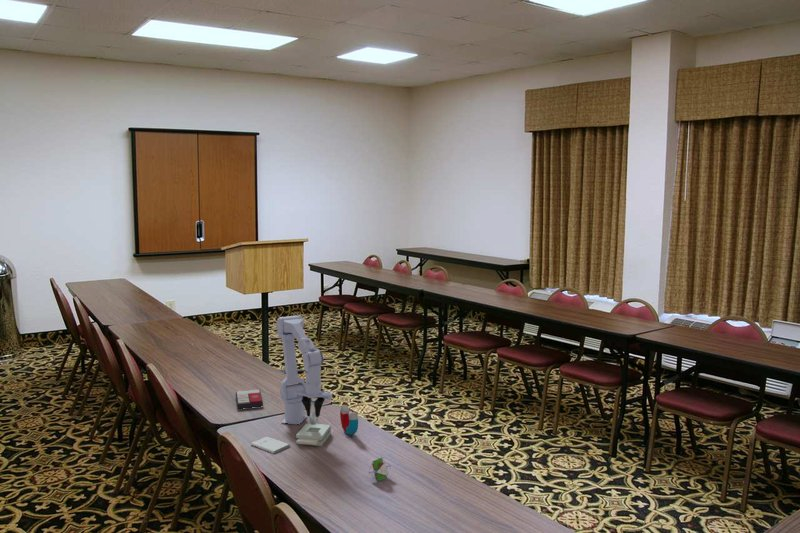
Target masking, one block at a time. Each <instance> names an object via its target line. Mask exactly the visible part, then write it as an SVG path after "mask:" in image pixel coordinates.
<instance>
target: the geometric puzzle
mask: <svg viewBox="0 0 800 533" xmlns="http://www.w3.org/2000/svg"><path fill="white" fill-rule="evenodd" d="M391 467H392V465H390V464H389V465H386V461H384V459H383V457H380V458H377V459H375V460H373V461H372V463H371V466H370V467H369V471H368V474H370V475H371V476H372V477H373V478H374V477H375V478H376V481H377V482H380V481H382V480H384V479H386V478H388V475H389V472H390V471H388V468H391ZM371 468H372V469H373V470H372V471H370V470H371Z"/></svg>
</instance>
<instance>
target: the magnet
mask: <svg viewBox="0 0 800 533" xmlns="http://www.w3.org/2000/svg"><path fill="white" fill-rule="evenodd" d="M339 411H340V412H339V414H340V415H339V417H340V418H339V419H340V424H341V428H342V430H343V431H344V433H345V434H346V435H347V436H349V435H354V434H356V433H357V432H358V429H359V417H358V412H351V413H350V408H349V406H348V404H345V405H340V410H339Z"/></svg>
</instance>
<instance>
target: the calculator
mask: <svg viewBox="0 0 800 533" xmlns="http://www.w3.org/2000/svg"><path fill="white" fill-rule="evenodd" d="M261 392H262V391H261V390H260V389H250V390H239V391H238V390H237V391H235V401H236V402H235V403H237V404H236V409H243V408H252V407H261V406H263V407H264V401H263V397H262V396H263V395H262V393H261ZM243 410H244V409H243Z"/></svg>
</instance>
